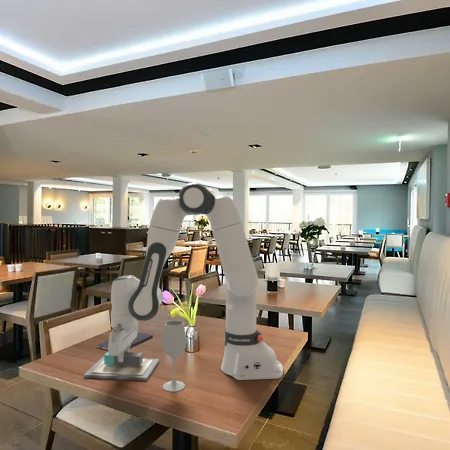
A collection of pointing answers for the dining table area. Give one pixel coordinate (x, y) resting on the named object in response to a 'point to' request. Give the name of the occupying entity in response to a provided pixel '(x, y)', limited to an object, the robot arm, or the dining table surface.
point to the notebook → (139, 339)
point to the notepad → (122, 370)
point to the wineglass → (174, 349)
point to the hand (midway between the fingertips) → (123, 358)
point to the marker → (129, 359)
